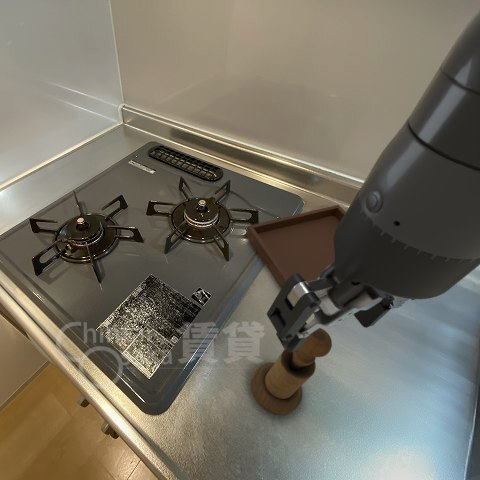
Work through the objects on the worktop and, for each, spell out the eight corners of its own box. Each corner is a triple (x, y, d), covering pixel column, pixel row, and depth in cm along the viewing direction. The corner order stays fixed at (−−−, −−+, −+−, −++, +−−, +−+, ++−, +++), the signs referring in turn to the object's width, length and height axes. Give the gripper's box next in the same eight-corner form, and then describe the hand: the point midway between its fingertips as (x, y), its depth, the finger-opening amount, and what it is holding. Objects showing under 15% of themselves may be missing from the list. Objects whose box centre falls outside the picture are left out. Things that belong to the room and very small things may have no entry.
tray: (332, 214, 69) (338, 204, 67) (393, 276, 58) (402, 266, 56) (245, 235, 65) (247, 225, 63) (292, 306, 54) (297, 297, 52)
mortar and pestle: (245, 401, 44) (280, 350, 31) (256, 360, 48) (292, 298, 34) (293, 424, 42) (354, 380, 29) (301, 379, 46) (357, 321, 33)
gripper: (377, 287, 15) (281, 391, 27) (584, 225, 18) (413, 345, 30) (290, 191, 20) (241, 316, 32) (463, 154, 22) (358, 282, 34)
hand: (324, 330), depth 31 cm, fingers open, 8 cm apart
